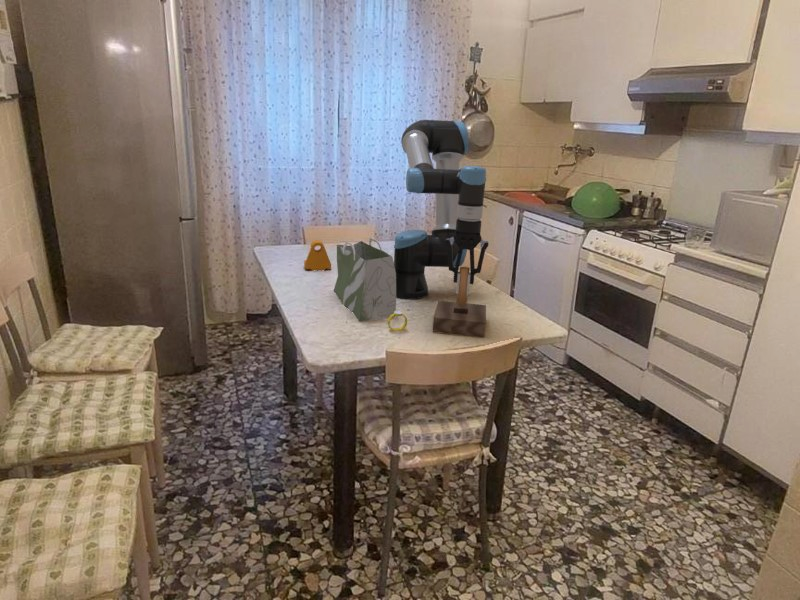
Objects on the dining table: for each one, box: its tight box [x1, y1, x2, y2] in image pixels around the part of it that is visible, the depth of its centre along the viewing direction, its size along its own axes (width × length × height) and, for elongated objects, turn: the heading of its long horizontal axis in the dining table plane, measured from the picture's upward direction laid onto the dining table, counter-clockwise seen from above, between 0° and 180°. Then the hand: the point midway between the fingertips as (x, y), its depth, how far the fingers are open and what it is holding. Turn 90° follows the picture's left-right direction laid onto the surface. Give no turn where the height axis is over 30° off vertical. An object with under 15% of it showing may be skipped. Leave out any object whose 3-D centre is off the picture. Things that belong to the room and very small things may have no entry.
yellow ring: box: [387, 310, 408, 332], centre depth 164 cm, size 6×3×6 cm, turn 105°
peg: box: [456, 266, 470, 306], centre depth 166 cm, size 3×3×12 cm
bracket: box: [303, 239, 332, 271], centre depth 223 cm, size 11×7×12 cm, turn 104°
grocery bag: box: [333, 237, 397, 323], centre depth 182 cm, size 32×14×23 cm, turn 23°
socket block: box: [431, 300, 487, 338], centre depth 169 cm, size 16×16×5 cm
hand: (462, 292), depth 166 cm, fingers closed on peg, 2 cm apart
